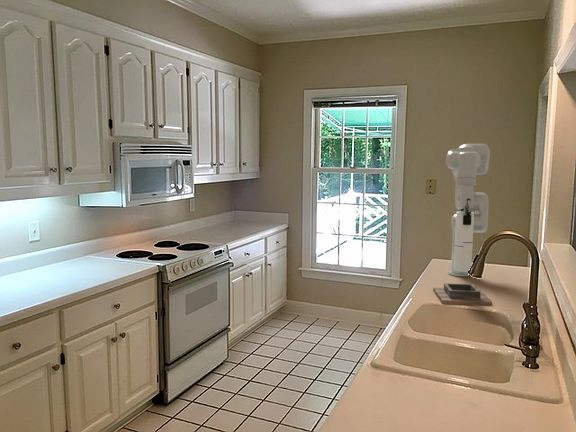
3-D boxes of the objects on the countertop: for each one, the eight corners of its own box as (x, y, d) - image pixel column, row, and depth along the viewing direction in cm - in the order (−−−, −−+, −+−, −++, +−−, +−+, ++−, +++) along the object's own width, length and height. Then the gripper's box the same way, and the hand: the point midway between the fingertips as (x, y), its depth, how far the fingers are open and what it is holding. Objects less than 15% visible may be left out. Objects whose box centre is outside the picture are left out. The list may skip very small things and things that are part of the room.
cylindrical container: (472, 272, 209) (475, 213, 206) (454, 271, 210) (457, 213, 207) (469, 268, 216) (472, 211, 213) (452, 267, 217) (455, 211, 214)
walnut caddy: (433, 290, 225) (433, 280, 225) (478, 292, 223) (479, 282, 223) (442, 303, 206) (442, 293, 205) (492, 305, 203) (492, 294, 203)
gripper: (452, 180, 217) (450, 220, 219) (462, 182, 200) (460, 226, 202) (470, 180, 216) (468, 221, 219) (481, 183, 199) (479, 226, 201)
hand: (464, 223), depth 210 cm, fingers closed on cylindrical container, 7 cm apart
